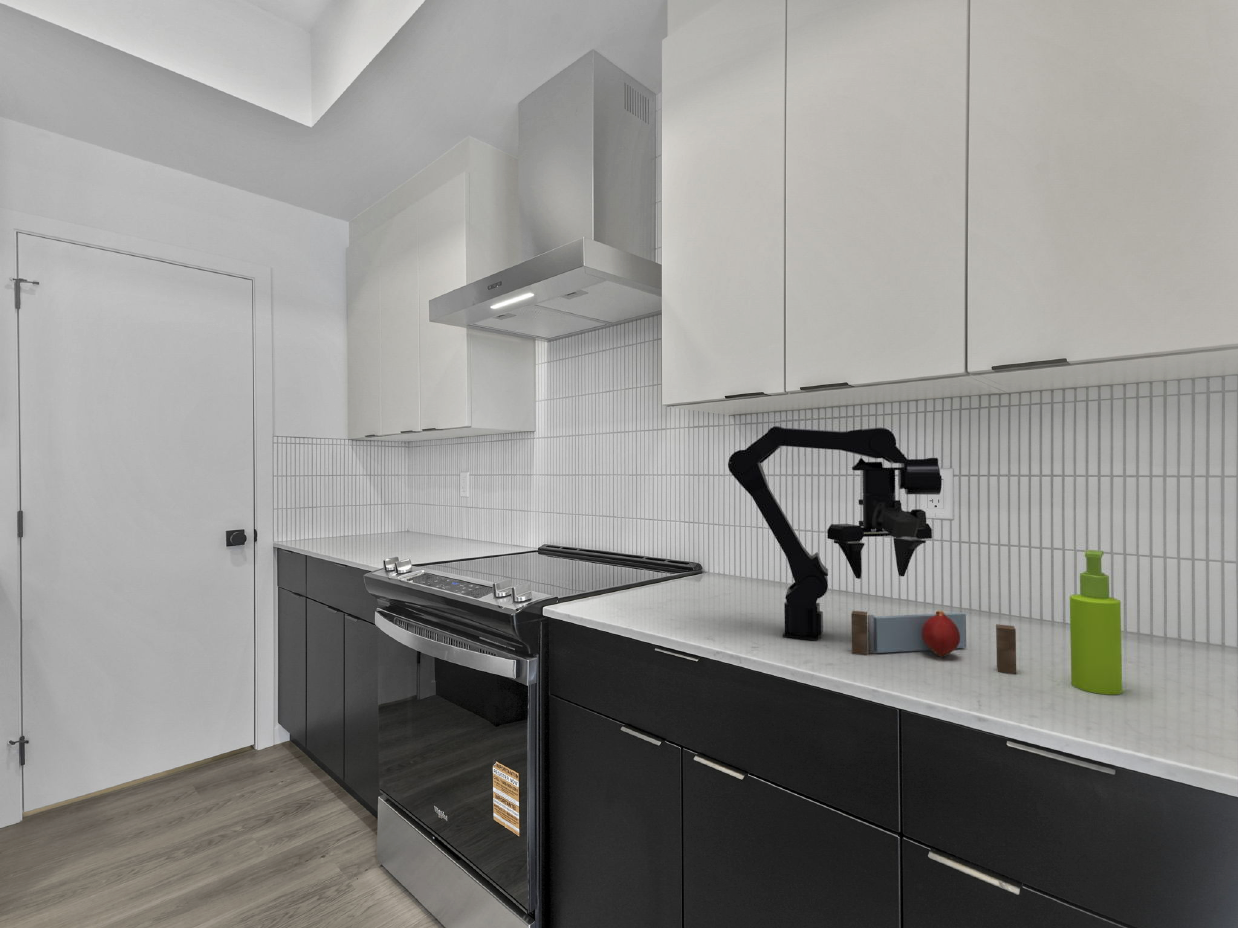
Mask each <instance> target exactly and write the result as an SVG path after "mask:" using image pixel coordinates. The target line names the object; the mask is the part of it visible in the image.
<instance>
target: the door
mask: <svg viewBox="0 0 1238 928" xmlns="http://www.w3.org/2000/svg"><path fill="white" fill-rule="evenodd" d="M944 614H945V615H946V616H947V617H948V618H950V619H951V620H952V621H953V622H954V624H955V625H956V626H957V628H958V630H959V633H960V643H959V645H958V646H957V648H956V649H963V648H964V649H965V648H967V614H966V613H964V612H962V611H961V612H958V611H957V612H944ZM935 615H936V613H921V614H904V615H903V614H901V615H881V616H879V615H878V616H875V615H873V614H867V636H868V652H867V653H870V654H871V653H872V654H874V653H875V652H876V653H877V654H879V653H881V654H882V653H896V652H915V651H928V650H931V649H930V648H929V647H928V646H927V645H926V644H925V642H924V640H923V637H922V629H923V626H924V624H925V623H926V621H927V620H928V619H929V618H931V617H933V616H935ZM931 651H932V650H931Z"/></svg>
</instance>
